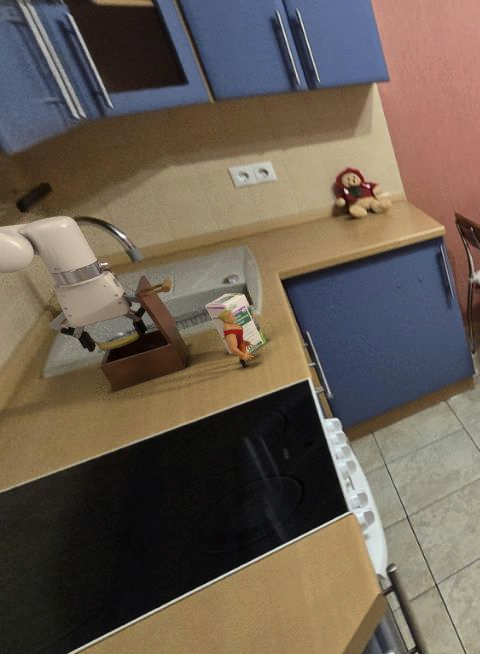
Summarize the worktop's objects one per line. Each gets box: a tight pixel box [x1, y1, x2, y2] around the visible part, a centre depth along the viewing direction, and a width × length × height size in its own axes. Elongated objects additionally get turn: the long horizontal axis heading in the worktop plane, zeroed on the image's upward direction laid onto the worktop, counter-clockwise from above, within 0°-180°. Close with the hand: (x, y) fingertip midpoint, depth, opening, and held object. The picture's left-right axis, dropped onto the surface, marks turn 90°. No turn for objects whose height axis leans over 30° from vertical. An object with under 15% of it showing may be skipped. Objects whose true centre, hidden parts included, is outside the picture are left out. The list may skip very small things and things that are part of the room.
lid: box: [133, 275, 177, 344], centre depth 125 cm, size 13×13×5 cm
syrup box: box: [204, 292, 267, 355], centre depth 129 cm, size 6×6×14 cm
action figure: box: [218, 310, 255, 369], centre depth 123 cm, size 10×4×15 cm, turn 35°
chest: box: [99, 324, 189, 392], centre depth 126 cm, size 13×13×7 cm
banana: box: [90, 332, 139, 351], centre depth 122 cm, size 8×2×4 cm, turn 133°
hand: (118, 341), depth 122 cm, fingers closed on banana, 8 cm apart
